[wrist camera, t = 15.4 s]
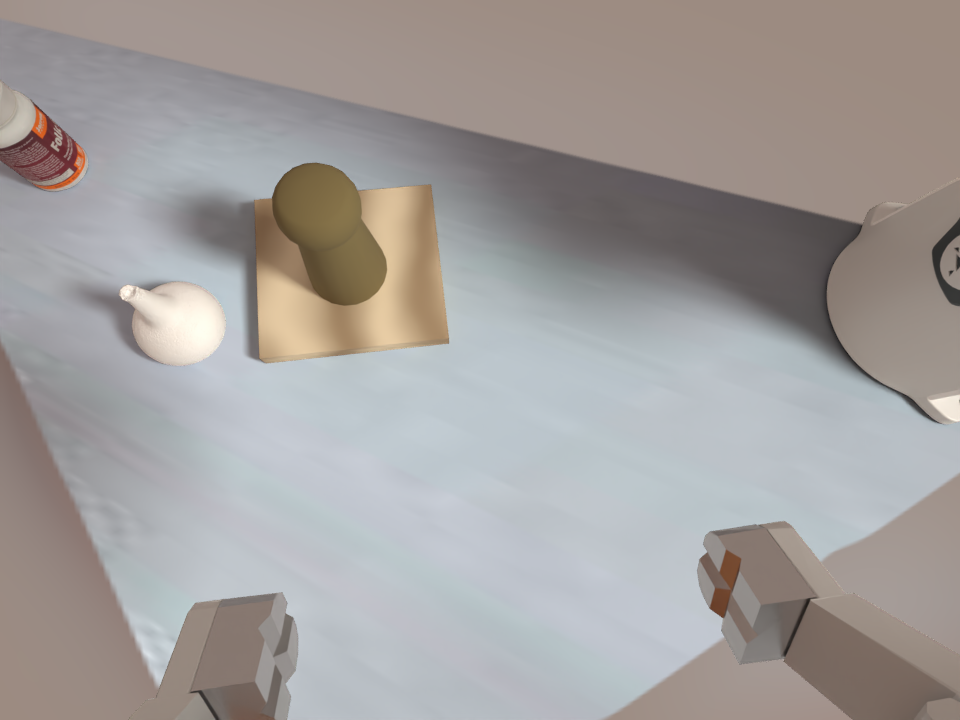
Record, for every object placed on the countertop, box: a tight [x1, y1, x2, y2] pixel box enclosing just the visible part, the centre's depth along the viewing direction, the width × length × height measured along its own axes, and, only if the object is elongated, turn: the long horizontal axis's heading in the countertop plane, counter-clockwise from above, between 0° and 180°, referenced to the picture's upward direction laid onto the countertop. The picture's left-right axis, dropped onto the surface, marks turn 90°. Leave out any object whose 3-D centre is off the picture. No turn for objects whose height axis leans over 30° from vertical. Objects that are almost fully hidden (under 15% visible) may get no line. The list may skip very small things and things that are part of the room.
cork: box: [272, 163, 387, 306], centre depth 36 cm, size 6×6×11 cm
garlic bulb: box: [119, 282, 226, 366], centre depth 38 cm, size 6×6×8 cm
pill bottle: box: [0, 80, 88, 191], centre depth 40 cm, size 5×5×8 cm
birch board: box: [254, 185, 449, 363], centre depth 42 cm, size 14×13×2 cm
